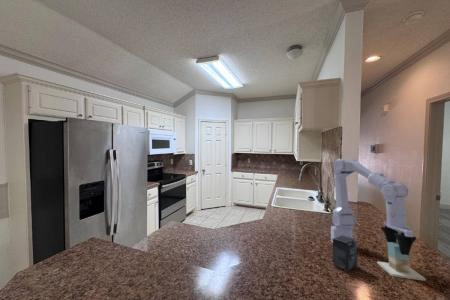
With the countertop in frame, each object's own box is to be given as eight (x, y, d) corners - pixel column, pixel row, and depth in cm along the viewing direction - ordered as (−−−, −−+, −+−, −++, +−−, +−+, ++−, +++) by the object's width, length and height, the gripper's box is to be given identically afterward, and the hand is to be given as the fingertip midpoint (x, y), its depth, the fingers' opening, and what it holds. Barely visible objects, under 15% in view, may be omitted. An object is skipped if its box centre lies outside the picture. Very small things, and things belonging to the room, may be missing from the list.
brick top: (395, 258, 72) (394, 246, 72) (388, 253, 76) (387, 241, 77) (409, 260, 71) (408, 247, 71) (401, 255, 75) (400, 243, 76)
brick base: (396, 271, 71) (395, 258, 72) (389, 265, 76) (388, 253, 76) (410, 273, 70) (409, 260, 71) (402, 267, 75) (401, 255, 75)
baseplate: (392, 276, 69) (391, 274, 69) (377, 263, 79) (377, 261, 79) (425, 280, 67) (425, 278, 67) (406, 266, 77) (406, 264, 77)
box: (348, 272, 71) (347, 242, 73) (332, 265, 76) (332, 238, 77) (357, 266, 76) (356, 239, 77) (342, 260, 80) (341, 234, 82)
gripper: (422, 219, 67) (425, 260, 66) (396, 211, 81) (398, 244, 80) (398, 217, 69) (401, 257, 67) (377, 209, 83) (378, 242, 81)
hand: (398, 250), depth 74 cm, fingers open, 7 cm apart
